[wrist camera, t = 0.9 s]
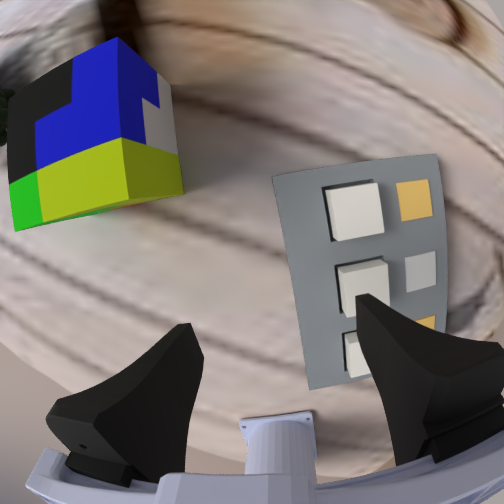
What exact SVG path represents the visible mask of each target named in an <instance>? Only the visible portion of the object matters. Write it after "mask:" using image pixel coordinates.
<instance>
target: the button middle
mask: <svg viewBox="0 0 504 504" xmlns="http://www.w3.org/2000/svg"><path fill="white" fill-rule="evenodd" d="M338 275H339V283H340V292H341V301H342V309H343V311H344V313H345V315H346V317H347V318H349V317H353V316H356V304H355V296H357V295H361V294H366V293H370V294H371V295H373V296H374V297H376V298H377V299H379V300H380V301H382V302H383V303H385V304H386V305H388V306H389V307H390V297H389V278H388V264H387V263H385V262H384V261H382V260H381V259H376V260H371V261H367V262H362V263H357V264H352V265H347V266H342V267H338Z"/></svg>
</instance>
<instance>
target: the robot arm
mask: <svg viewBox="0 0 504 504" xmlns="http://www.w3.org/2000/svg"><path fill="white" fill-rule="evenodd" d="M355 304H356V330H357V337H358V341H359V344H360V347H361V351H362V354H363V356H364V358H365V360H366V363H367V365H368V367H369V370H370V372H371V374H372V376H373V379H374V381H375V383H376V386H377V388H378V390H379V393H380V396H381V399H382V402H383V406H384V410H385V413H386V417H387V421H388V426H389V430H390V435H391V440H392V445H393V450H394V456H395V462H396V467H393V468H390V469H386V470H383V471H379V472H376V473H371V474H367V475H363V476H359V477H355V478H350V479H345V480H340V481H335V482H329V483H323V484H317V479H316V470H315V461H314V460H317V458H318V456H317V448H316V439H315V431H314V423H313V416H312V412H310V411H305V412H299V413H293V414H286V415H278V416H270V417H261V418H251V419H241V420H240V421H239V426H240V429H241V431H242V434H243V437H244V440H245V442H246V445H247V447H248V448H247V457H246V465H245V474H232V475H231V474H230V475H229V474H225V475H224V474H199V473H185V455H186V445H187V436H188V429H189V422H190V418H191V414H192V410H193V406H194V403H195V399H196V396H197V392H198V389H199V385H200V381H201V378H202V372H203V363H204V356H203V353H202V351H201V348H200V346H199V343H198V341H197V338H196V336H195V333H194V331H193V328H192V325H191V323H185V324H178V325H177V326H175V327H174V328H173V329H172V330H170V331H169V332H168V333H167V334H166V335H165V336H164V337H163V338H162V339H160V340H159V341H158V342H157V343H156V344H155V345H154V346H153V347H152V348H150V349H149V350H148V351H147V352H146V353H144V354H143V355H142V356H141V357H140V358H138V359H137V360H136V361H135V362H133V363H132V364H131V365H129V366H128V367H127V368H125V369H124V370H122V371H121V372H119V373H118V374H116V375H114V376H113V377H111V378H109V379H107V380H105V381H104V382H102V383H100V384H98V385H96V386H94V387H91V388H89V389H87V390H84V391H82V392H79V393H76V394H73V395H70V396H67V397H64V398H60V399H58V400H57V401H56V402H55V404H54V405H53V407H52V409H51V410H50V412H49V413H48V415H47V416H46V422H47V425H48V426H49V428H50V430H51V431H52V432H53V433H54V434H55V436H56V437H57V438H58V439H59V440H60V441H61V442H62V443H63V444H64V445H65V446H66V447H67V448H68V449H69V450H70V451H71V452H70V454H69V456H67V455H65V454H64V453H62V452H59V451H57V450H54V449H51V448H48V447H46V448H45V449H44V451H43V453H42V455H41V457H40V458H39V460H38V462H37V464H36V465H35V467H34V469H33V471H32V473H31V475H30V477H29V478H28V480H27V482H26V487H27V488H28V489H30V490H31V491H32V492H33V493H35V494H36V495H37V496H39V497H40V498H42V499H43V500H44V501H46V502H47V503H49V504H480V503H482V502H483V501H485V500H487V499H488V498H490V497H491V496H493V495H495V494H496V493H498V492H499V491H501V490H502V489H504V407H503V406H502V404H504V398H503V396H502V395H501V392H502V390H503V388H504V349H503V348H502V347H501V345H500V344H499V343H498V342H487V341H477V340H471V339H465V338H460V337H456V336H452V335H449V334H445V333H442V332H439V331H436V330H434V329H431V328H429V327H426V326H424V325H422V324H419V323H417V322H415V321H413V320H411V319H410V318H408V317H406V316H404V315H402V314H401V313H399V312H397V311H396V310H394V309H392V308H391V307H389V306H388V305H386V304H385V303H383V302H382V301H380V300H379V299H377V298H376V297H374V296H373V295H371V294H370V293H366V294H361V295H357V296H355ZM307 418H308V419H307Z"/></svg>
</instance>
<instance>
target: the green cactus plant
mask: <svg viewBox="0 0 504 504" xmlns="http://www.w3.org/2000/svg"><path fill="white" fill-rule="evenodd" d="M13 95H14V93H13V91H12V89H11V88H10V89H4V90H3V91H2V90H0V146H4V145H5V144H6V143H7V131H6V130H5V128H6V126H7V118H8V102H9V98H11V97H12V96H13Z"/></svg>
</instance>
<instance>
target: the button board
mask: <svg viewBox="0 0 504 504" xmlns="http://www.w3.org/2000/svg"><path fill="white" fill-rule="evenodd" d="M272 181H273V186H274V190H275V195H276V200H277V205H278V210H279V215H280V220H281V226H282V231H283V236H284V241H285V247H286V252H287V258H288V263H289V269H290V274H291V280H292V285H293V291H294V297H295V303H296V309H297V315H298V321H299V327H300V333H301V340H302V346H303V353H304V359H305V366H306V373H307V379H308V386H309V390H314V389H319V388H324V387H329V386H334V385H339V384H343V383H348V382H352V381H356V380H360V379H364V378H368V377H372V374H371V373H369V374H366V375H362V376H357V377H353V378H351V377H350V374H349V372H348V369H347V360H346V345H345V334H348V333H352V332H357V330H356V316H353V317H349V318H347V317H346V315H345V313H344V311H343V309H342V301H341V292H340V283H339V275H338V267H342V266H347V265H352V264H357V263H362V262H367V261H371V260H376V259H381V260H382V261H384V262H385V263H387V264H388V278H389V297H390V307H391V308H392V309H394V310H396V311H397V312H399V313H401V314H402V315H404V316H406V317H408V318H410V319H411V320H413V321H415V322H417V323H419V324H422V325H424V326H426V327H429V328H431V329H434V330H436V331H439V332H442V333H445V327H446V314H447V294H448V251H447V231H446V218H445V207H444V198H443V190H442V183H441V176H440V170H439V164H438V159H437V154H427V155H416V156H406V157H396V158H387V159H379V160H371V161H363V162H356V163H349V164H342V165H335V166H329V167H322V168H316V169H310V170H304V171H299V172H293V173H288V174H282V175H277V176H272ZM367 183H377V184H378V190H379V196H380V203H381V210H382V217H383V225H384V233H379V234H374V235H369V236H363V237H358V238H353V239H348V240H343V241H337V240H336V239H335V238H333V232H332V226H331V220H330V214H329V208H328V202H327V197H326V192H325V190H330V189H336V188H342V187H348V186H354V185H361V184H367Z"/></svg>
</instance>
